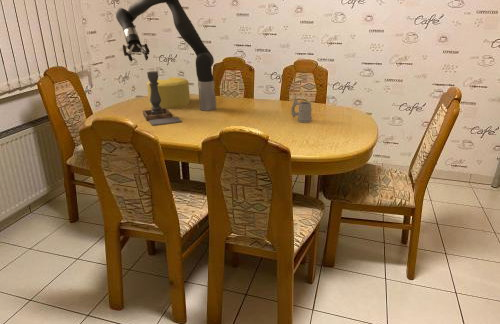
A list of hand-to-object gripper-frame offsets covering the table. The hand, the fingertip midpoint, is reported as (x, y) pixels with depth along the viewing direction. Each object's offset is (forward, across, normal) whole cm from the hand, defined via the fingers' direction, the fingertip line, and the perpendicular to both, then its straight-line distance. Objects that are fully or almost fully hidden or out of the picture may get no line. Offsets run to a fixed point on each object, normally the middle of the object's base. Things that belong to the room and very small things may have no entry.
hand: (139, 60), depth 214 cm
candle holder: (+31, +3, +12) cm, 34 cm away
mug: (+67, +68, -24) cm, 98 cm away
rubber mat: (+40, +4, +2) cm, 41 cm away
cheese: (+13, +19, +31) cm, 38 cm away
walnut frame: (+31, +3, +11) cm, 33 cm away
